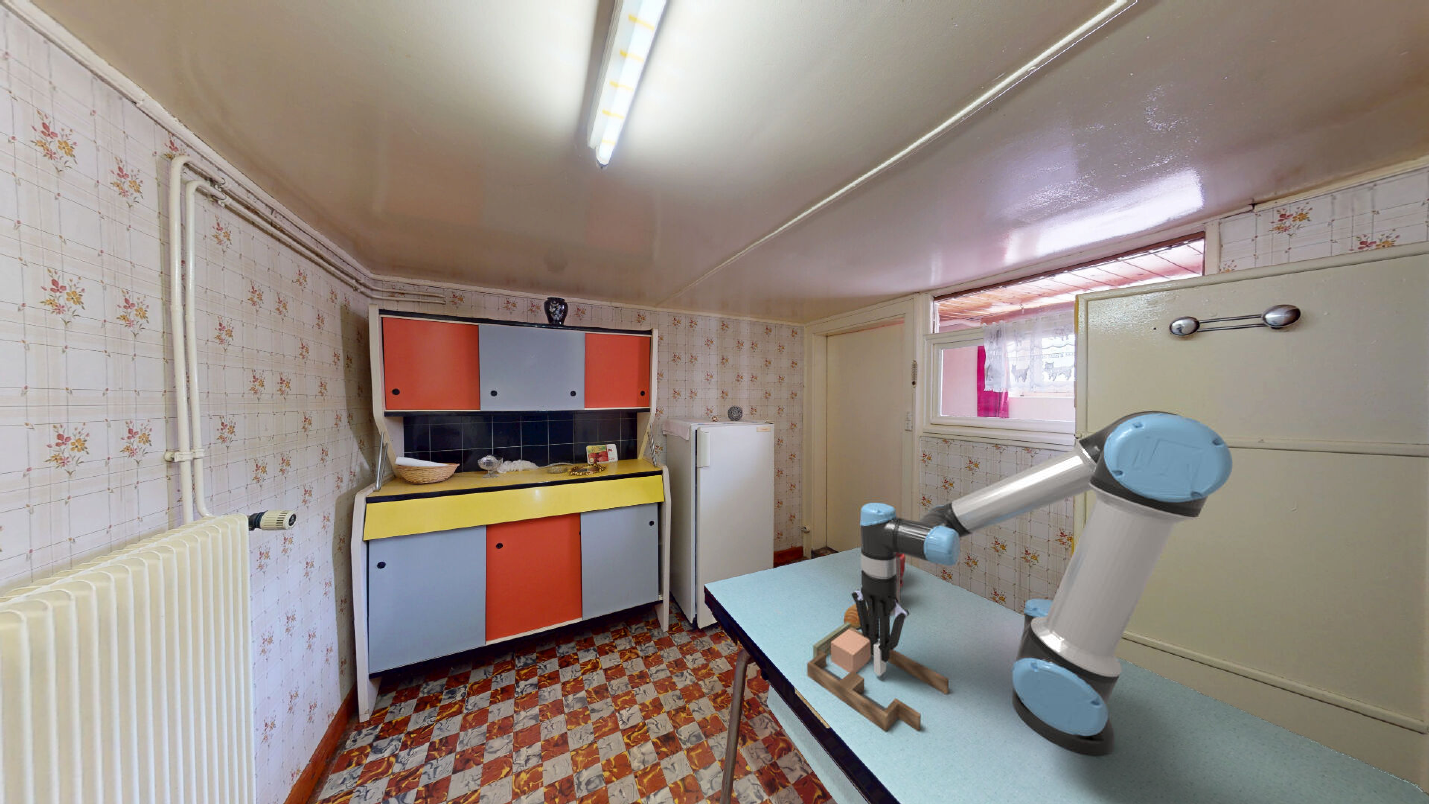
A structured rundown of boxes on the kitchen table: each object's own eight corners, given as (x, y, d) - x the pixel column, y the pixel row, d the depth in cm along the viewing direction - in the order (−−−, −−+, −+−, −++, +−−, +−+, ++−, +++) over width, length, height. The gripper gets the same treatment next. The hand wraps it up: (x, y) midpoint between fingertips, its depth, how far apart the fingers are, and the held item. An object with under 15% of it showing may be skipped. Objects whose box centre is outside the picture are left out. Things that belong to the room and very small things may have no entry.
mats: (893, 714, 79) (893, 713, 79) (883, 725, 76) (883, 724, 76) (823, 667, 92) (823, 666, 92) (813, 676, 89) (813, 674, 89)
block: (870, 660, 95) (870, 640, 94) (853, 675, 90) (853, 655, 89) (848, 647, 99) (848, 628, 99) (831, 661, 94) (830, 642, 94)
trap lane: (948, 692, 84) (948, 674, 84) (906, 746, 72) (906, 726, 71) (847, 635, 104) (847, 621, 103) (800, 670, 91) (800, 654, 91)
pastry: (860, 635, 104) (860, 621, 104) (837, 624, 109) (837, 611, 109) (874, 619, 111) (874, 606, 111) (851, 610, 116) (851, 598, 115)
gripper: (915, 576, 85) (916, 679, 86) (861, 557, 95) (862, 649, 96) (898, 588, 81) (900, 696, 81) (844, 567, 91) (846, 663, 91)
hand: (880, 671), depth 89 cm, fingers closed
